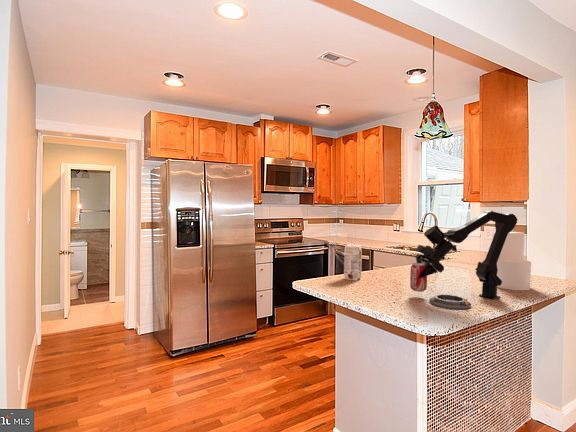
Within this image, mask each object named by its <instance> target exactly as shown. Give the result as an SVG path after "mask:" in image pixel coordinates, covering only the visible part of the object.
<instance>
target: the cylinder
mask: <svg viewBox="0 0 576 432" xmlns="http://www.w3.org/2000/svg"><path fill="white" fill-rule="evenodd" d="M495 232H496V231H493V232H492V238H493V237H494V235H495ZM524 253H525V232H523V231H522V232H520V231H519V232H518V231H511V232H509V233H508V235H507V237H506V240H505V243H504V245H503V248H502V251H501V253H500V256H499V259H498V261H497V269H498V272H497V276H498V277H499V278H500V279H501V280H502V283H501V285H500V286H497V288H500V289H504V290H505V289H506V290H511V291H529V290H530V289H531V274H532V273H531V272H532V261H531V260H528V259H525V258H524V256H525V254H524Z"/></svg>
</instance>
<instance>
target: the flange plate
mask: <svg viewBox="0 0 576 432" xmlns="http://www.w3.org/2000/svg"><path fill="white" fill-rule="evenodd" d="M468 299H469V298H466V297H462V296H459V295H455V294H445V293H444V294H440V293H439V294H434V296H433V297H430V298H429V300H428V301H429V303H430V304H431V305H433V306H435V307H438V308H442V309H447V310H467V309H471V308H472V303H471V301H468Z"/></svg>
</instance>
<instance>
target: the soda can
mask: <svg viewBox="0 0 576 432" xmlns="http://www.w3.org/2000/svg"><path fill="white" fill-rule="evenodd" d="M425 265H426V264H423V263H417V262H413V263H412V264H411V267H410V280H409V281H410V283H409V285H410V289H411V290H412V291H414V292H419V293H421V292H425V291H426V290H427V288H428V276H425V277H422V278H419V277H418V276H419V274H420V273H421V272H422V271H423V269H424V268H425Z"/></svg>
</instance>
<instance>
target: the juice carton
mask: <svg viewBox="0 0 576 432" xmlns="http://www.w3.org/2000/svg"><path fill="white" fill-rule="evenodd" d="M362 249H363V248H362V245H358V244H357V245H356V244H352V243H349V244H345V246H344V251H343V252H344V255H343V258H344V259H343V260H344V261H343V276H344V280H346V281H347V280H348V281H355V282H356V281H359V280H361V277H362V262H363V261H362V259H363V257H362V256H363V251H362Z"/></svg>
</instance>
